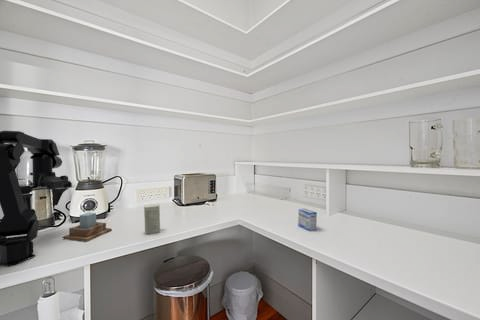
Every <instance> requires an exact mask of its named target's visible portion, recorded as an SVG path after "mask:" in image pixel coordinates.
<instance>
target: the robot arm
mask: <svg viewBox="0 0 480 320" xmlns="http://www.w3.org/2000/svg"><path fill="white" fill-rule="evenodd" d="M25 148H26V150H25ZM25 151H28V152H30V153H31V156H30V158H29V159H31V161H32V162H31V163H32V164H31V167H32V169H31V170H32V172H30V173H29V176H32V182H30V183H29V185H27V184H26V185H23V184H22V185H20V183H19V179H18V176H17V173H16V170H17V168H18V166H19V164H20V163H21V157H22V155H23V154H24V153H25ZM59 156H60V151H59V149H58V146H57V143H56V142H55V140H53V139H48V138H47V139H46V138H37V137H35V136H33V135H29V134H26V133H25V132H23V131H21V130H20V131H19V130H1V131H0V207H1V208H0V209H1V212H2V213H3V216H2V218H1V219H0V264H4V265H3V266H6V265H8V266H7V267H11V266H10V265H12V266H14V264H15V265H17V264H19V263H18V262H20V263H22V262H24V261H23V260H25V259H27V260H29V259H28V258H30V259H32V258H34V257H36V254H34V241H33V240H34V239H36V238H38V233H39V232H38V231H39V225H40V221H39V219H38V216H37V214H36V210H35V209H34V208H32V201H31V199H32V196H33V193H31V192H32V191H39V190H47V189H49V190H51V192H52V193H51V195H52V201H53V205H54V206H58V205H59V202H60V200H61V198H62V196H63V194H64V193H65V192H66V191H67V190H69V188H72V187H73V183H72V182H71V180H69V177H68V176H67V175H66V174H65V175H60V176H56V175H57V174H56V172H55V171H53V169H58V168H60V167H61V166H62V165H63V160H62V159H61V157H59ZM33 256H34V257H33ZM31 257H32V258H31ZM21 261H22V262H21ZM25 261H26V260H25ZM16 263H17V264H16Z"/></svg>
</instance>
